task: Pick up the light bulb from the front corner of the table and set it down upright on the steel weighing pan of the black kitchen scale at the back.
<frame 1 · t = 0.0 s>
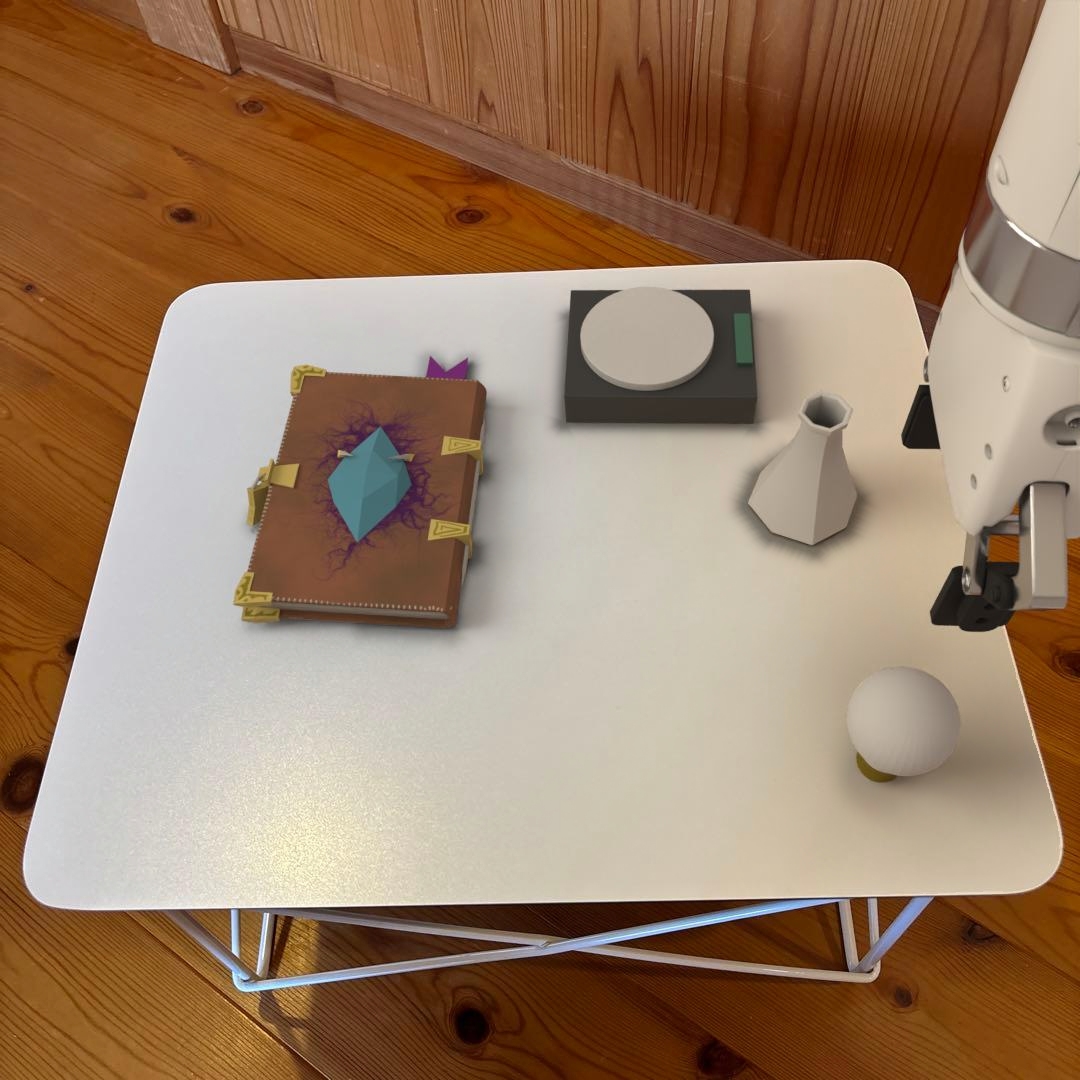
hand: (949, 527, 48), 20 cm above the table, tool pointing down, fingers open, 9 cm apart
scale: (658, 368, 81), on the table
book: (373, 486, 77), on the table
flask: (801, 503, 74), on the table
light bulb: (875, 767, 63), on the table
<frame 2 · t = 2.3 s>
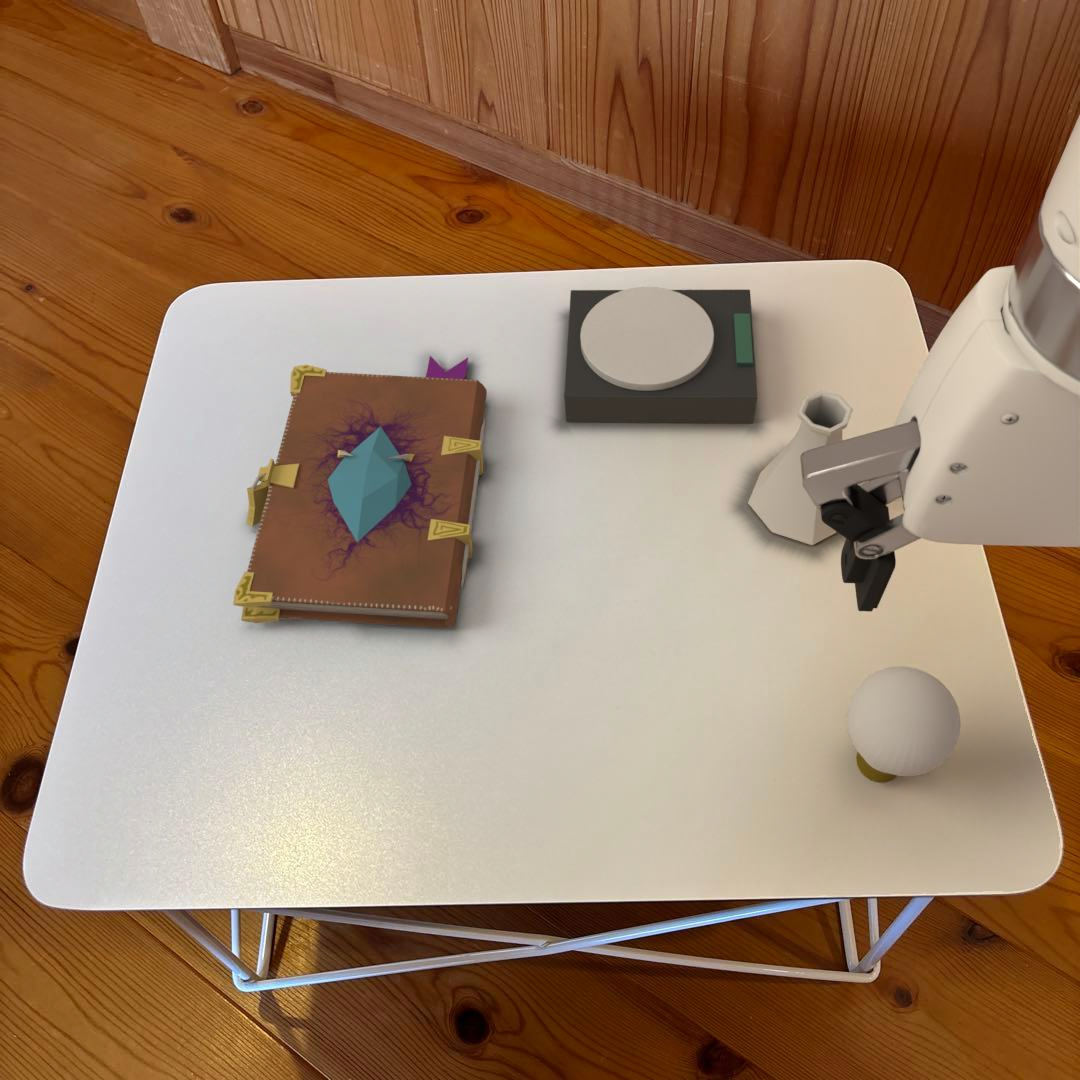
hand: (977, 584, 44), 22 cm above the table, tool pointing down, fingers open, 9 cm apart
nothing on the table moved.
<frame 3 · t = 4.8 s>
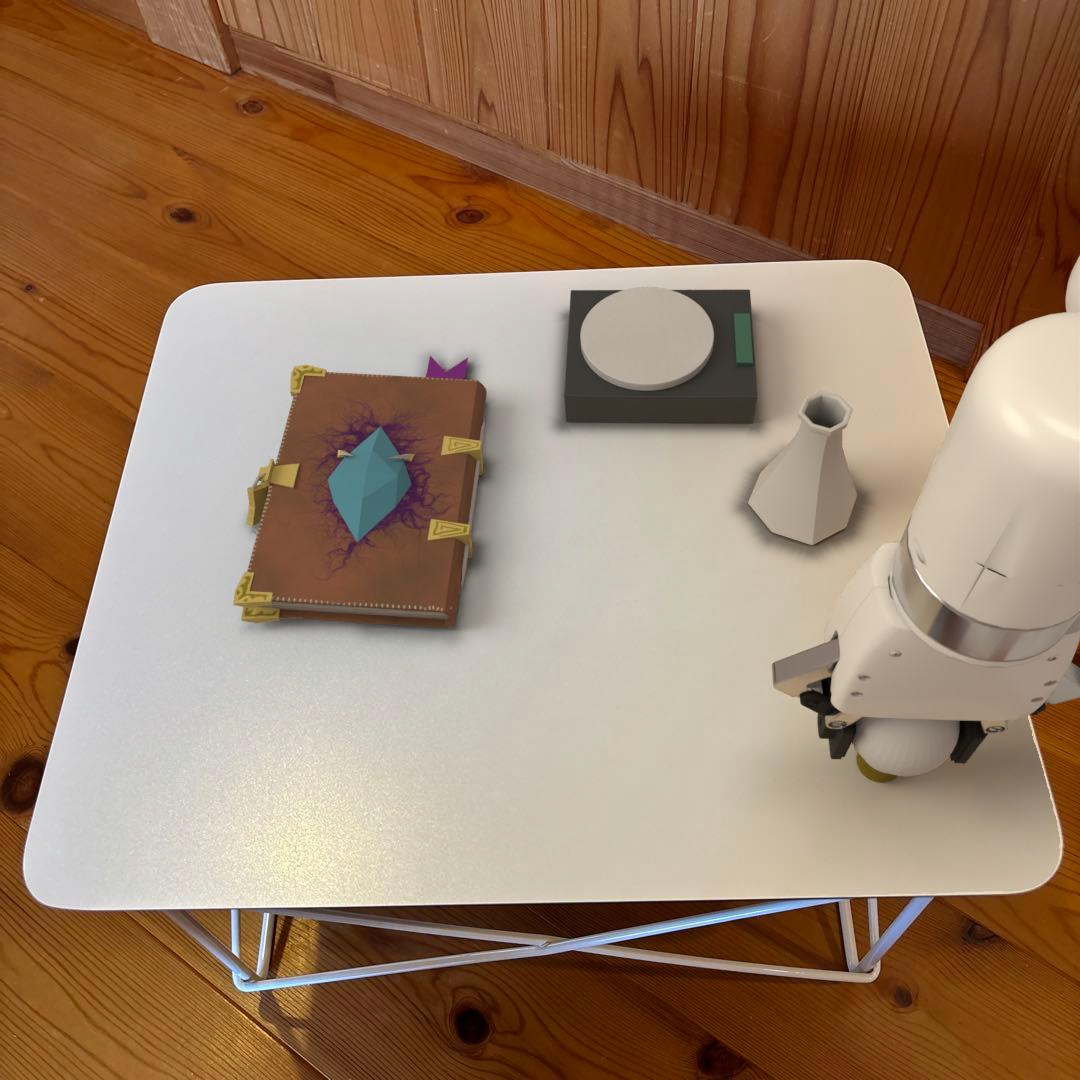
hand: (893, 735, 59), 5 cm above the table, tool pointing down, fingers closed on light bulb, 5 cm apart
light bulb: (875, 767, 63), on the table, touching gripper
everything else where it was.
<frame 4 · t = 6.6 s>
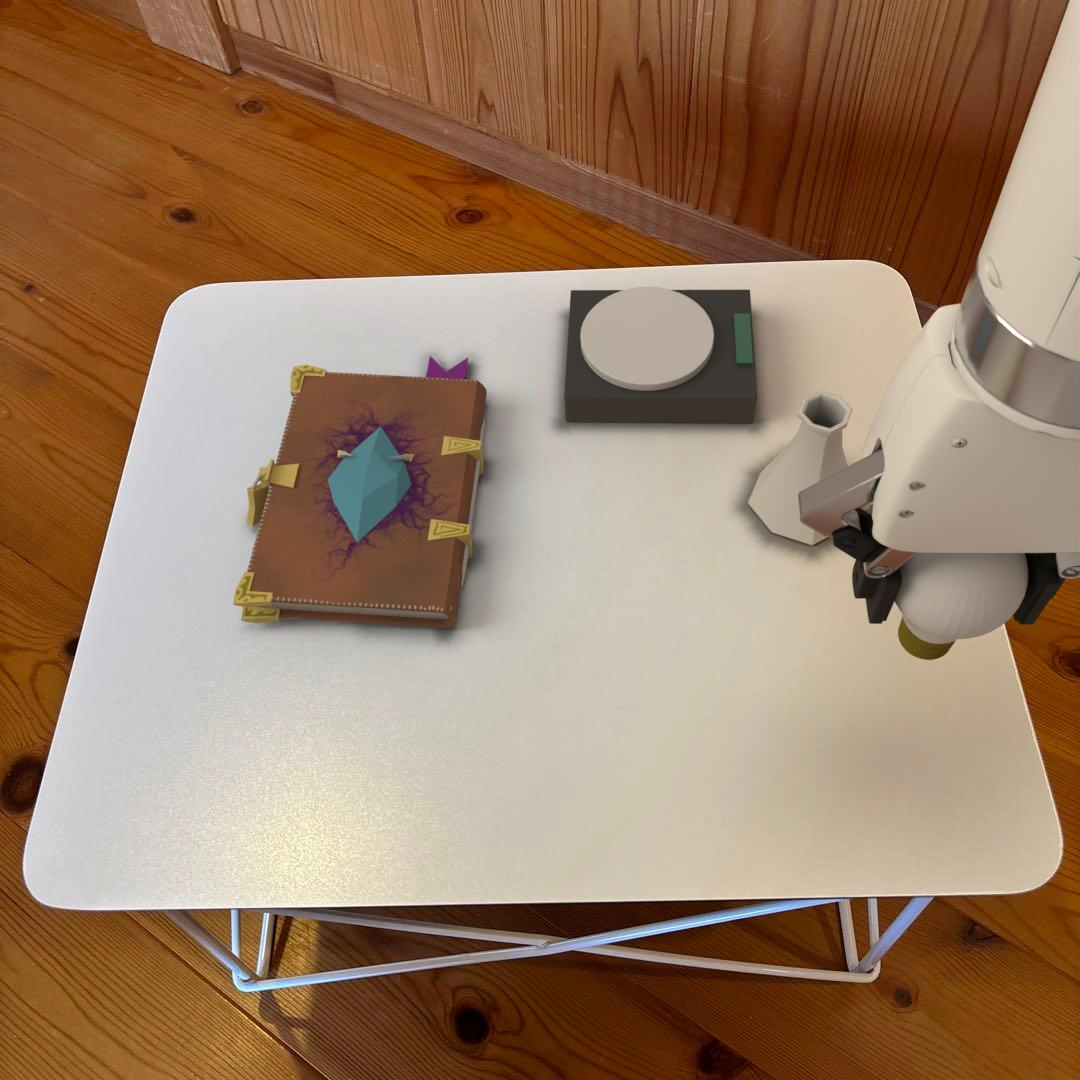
hand: (944, 595, 49), 18 cm above the table, tool pointing down, fingers closed on light bulb, 5 cm apart
light bulb: (920, 645, 53), point 13 cm above the table, touching gripper
everything else where it was.
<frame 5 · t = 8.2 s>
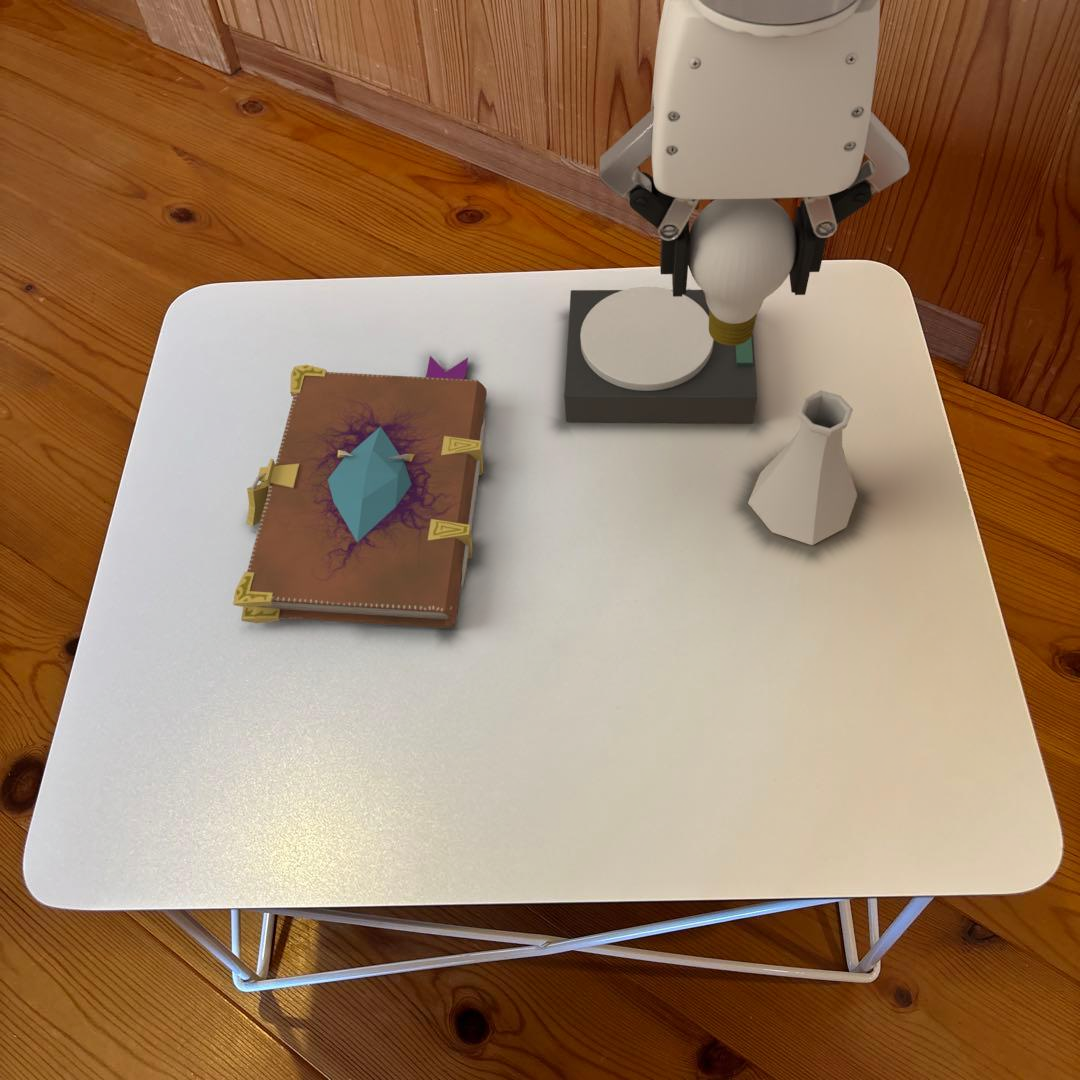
hand: (737, 276, 58), 20 cm above the table, tool pointing down, fingers closed on light bulb, 5 cm apart
light bulb: (729, 341, 63), point 15 cm above the table, touching gripper
everything else where it was.
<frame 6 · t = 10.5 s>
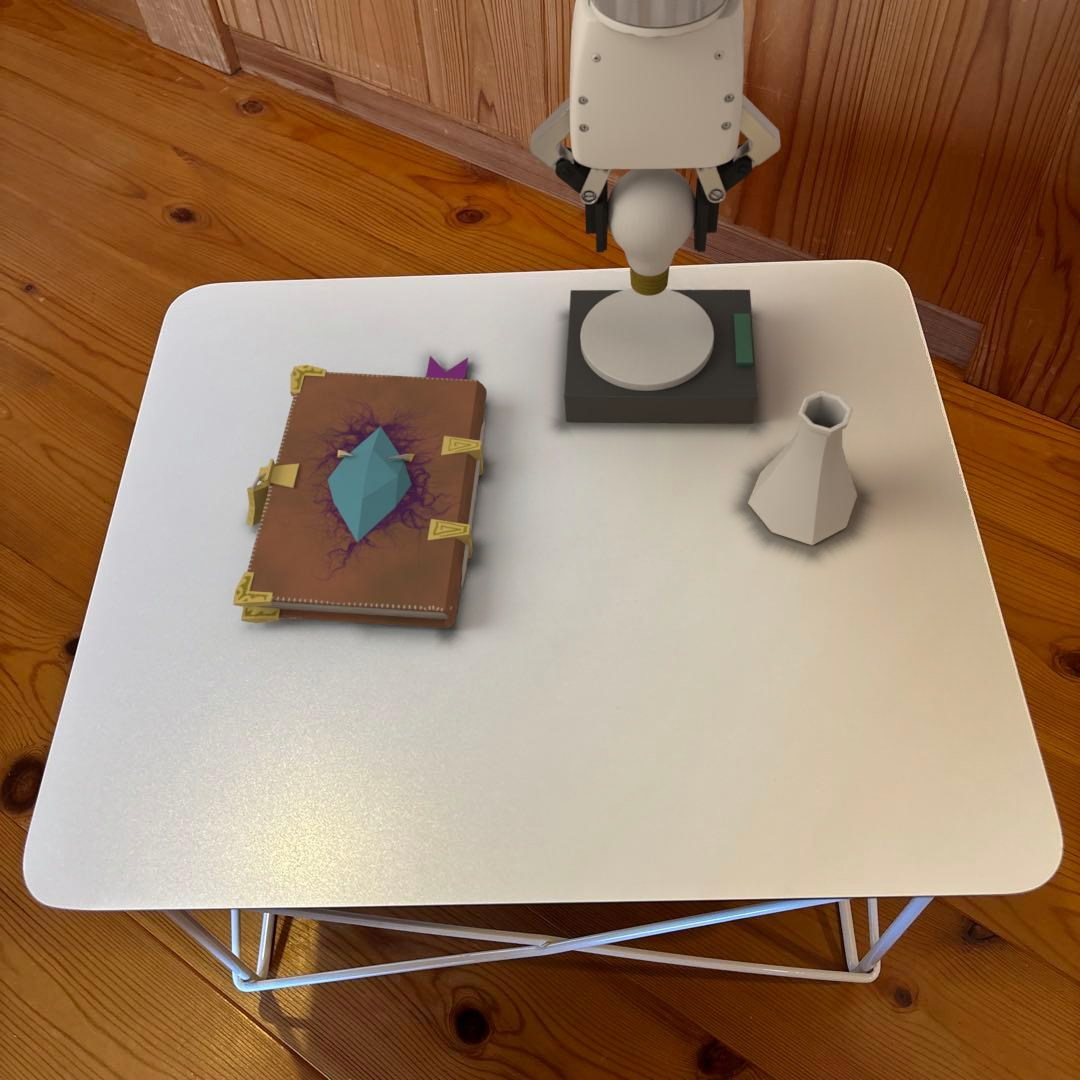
hand: (650, 236, 70), 13 cm above the table, tool pointing down, fingers closed on light bulb, 5 cm apart
light bulb: (648, 293, 74), point 8 cm above the table, touching gripper
everything else where it was.
when the fingers open (9 cm above the table, at t = 12.1 s): light bulb stays where it is, resting on scale.
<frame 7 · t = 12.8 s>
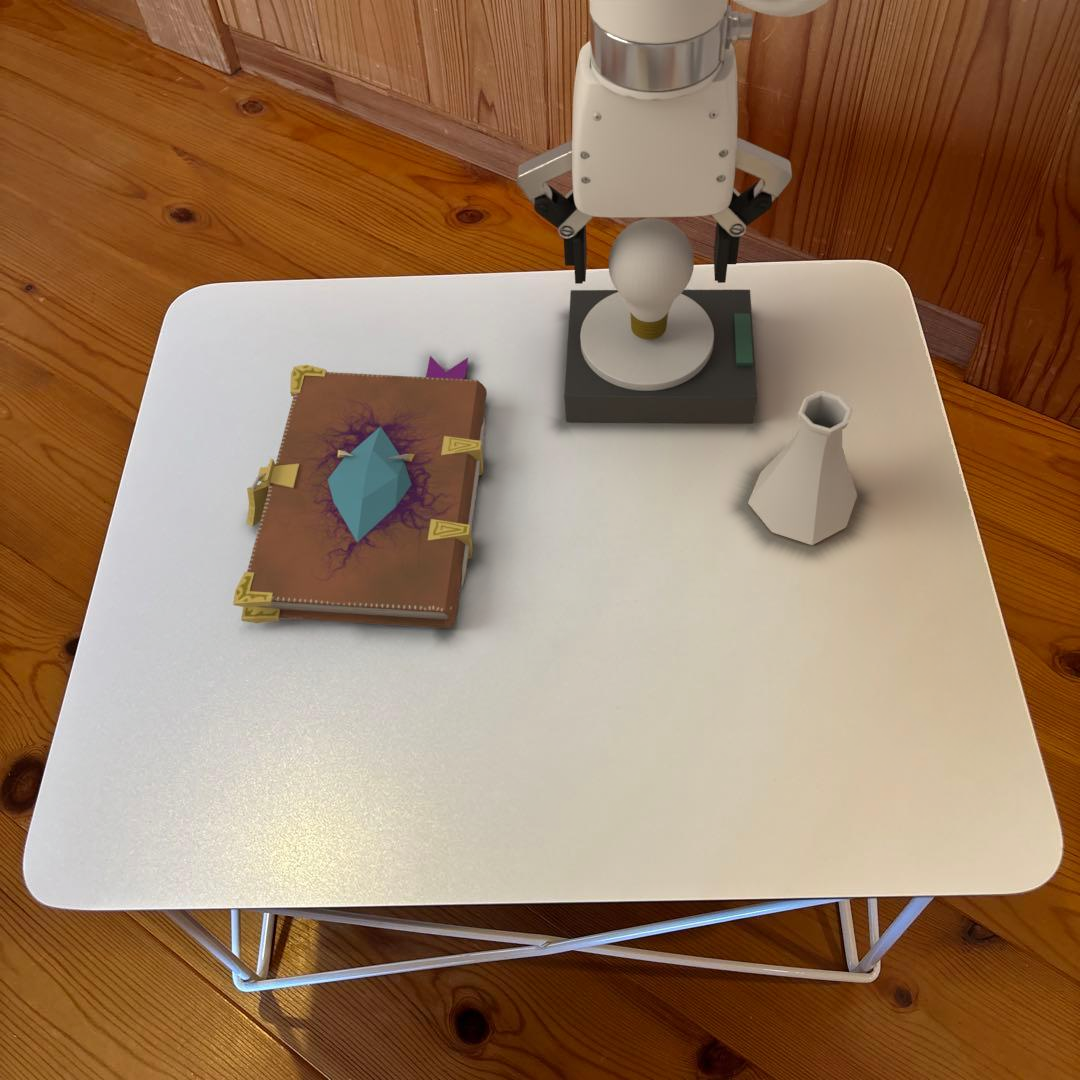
hand: (649, 269, 73), 10 cm above the table, tool pointing down, fingers open, 9 cm apart
light bulb: (648, 336, 78), point 4 cm above the table, touching scale
everything else where it was.
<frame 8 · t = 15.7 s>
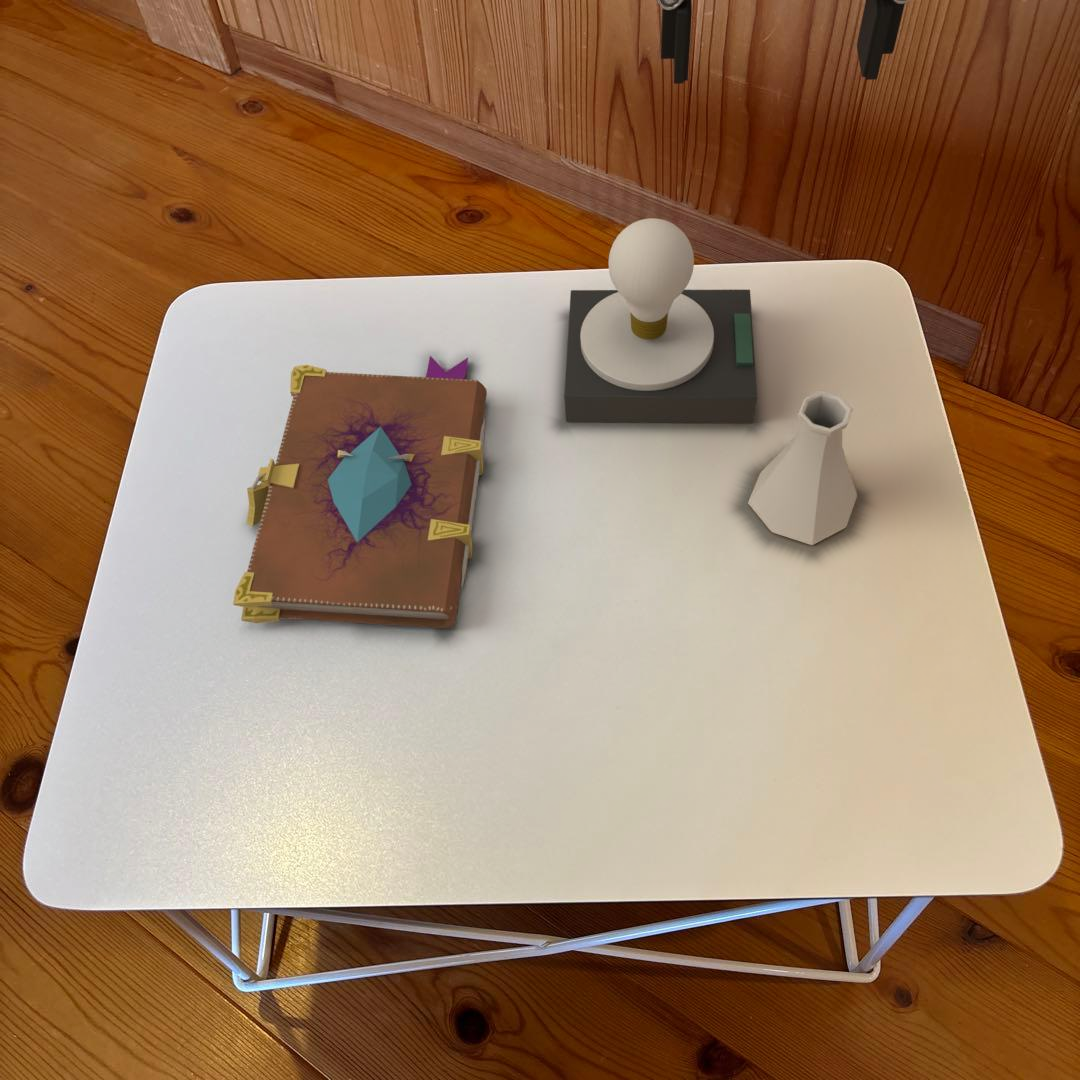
hand: (772, 66, 55), 28 cm above the table, tool pointing down, fingers open, 9 cm apart
nothing on the table moved.
at the end: light bulb inside the target area on the scale (0.1 cm from its centre), point 3.6 cm above the scale's base; light bulb tilted 0°; the gripper is holding nothing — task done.
